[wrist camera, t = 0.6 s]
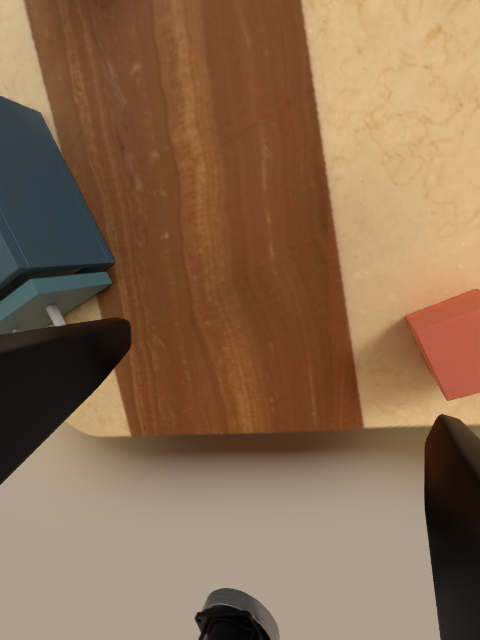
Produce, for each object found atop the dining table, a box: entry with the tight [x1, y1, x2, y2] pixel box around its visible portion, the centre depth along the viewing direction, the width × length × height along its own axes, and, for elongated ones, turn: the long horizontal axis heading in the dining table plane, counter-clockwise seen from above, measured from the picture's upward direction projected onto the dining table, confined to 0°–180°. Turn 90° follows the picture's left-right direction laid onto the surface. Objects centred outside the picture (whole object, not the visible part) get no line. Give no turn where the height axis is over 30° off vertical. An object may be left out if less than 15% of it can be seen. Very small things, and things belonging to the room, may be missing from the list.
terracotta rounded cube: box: [405, 289, 480, 401], centre depth 19 cm, size 4×4×4 cm
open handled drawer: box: [0, 268, 112, 335], centre depth 27 cm, size 18×11×7 cm, turn 28°
